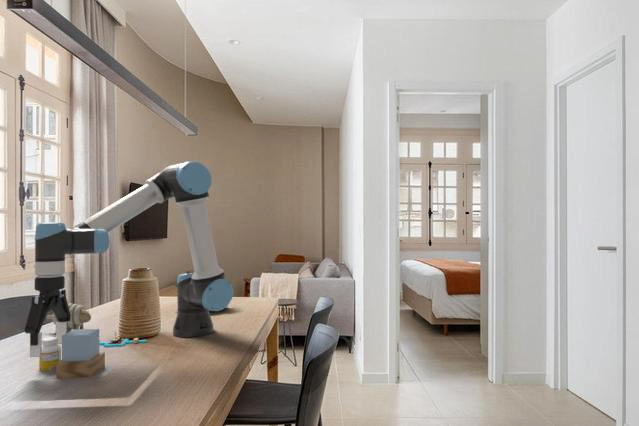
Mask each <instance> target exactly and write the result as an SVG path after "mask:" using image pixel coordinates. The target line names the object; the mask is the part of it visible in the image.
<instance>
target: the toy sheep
mask: <svg viewBox="0 0 639 426" xmlns="http://www.w3.org/2000/svg"><path fill="white" fill-rule="evenodd" d="M68 306H69V310H70V314H71V317H70V321H66V322H67V323H66V332H70V331H72V330H74V329H84V323H89V322H90V321H91V319H92V314H91V313H90V312H89V310H86V308H85V307H84V305H82V304H78V303H73V302H70V303H68ZM52 312H53V311H52ZM45 319H47V320H51V321H52V323H53V324H54V326H56V322H59V321H58V320H57V318H56V316H55V314H54V312H53V313H52V314H50V315H49V314H47V315H46V317H45Z"/></svg>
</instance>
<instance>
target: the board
mask: <svg viewBox="0 0 639 426" xmlns="http://www.w3.org/2000/svg"><path fill="white" fill-rule="evenodd" d="M118 366H119V365H105V367H103V368H102V369H101V370H99V371H98V372H97V373H95V374H94V375H93V376H91V377H68V378H67V379H86V378H88V379H89V378H93V379H94V378H104V377H106V375H108V374H109V373H110V372H112V371H113V370H114V369H116V368H117V367H118ZM52 379H53V380H54V379H58V380H59V379H63V378H57V369H54V370H53V371H52V372H51V373H49V374H47V375H46V376H44V377H43V378H42V380H52Z"/></svg>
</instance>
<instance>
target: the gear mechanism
mask: <svg viewBox="0 0 639 426" xmlns="http://www.w3.org/2000/svg"><path fill="white" fill-rule="evenodd" d="M141 343H144V344H145V343H147V339H141V340H139V337H135V338H133V339H132V340H129V338H123V335H118V336H117V330H114V338H113V339H108V340H107V341H103V342H101V341H100V339H99V346H103V348H112V347H113V348H114V347H115V348H116V347H124V346H126V344H133V345H134V344H141Z"/></svg>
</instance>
